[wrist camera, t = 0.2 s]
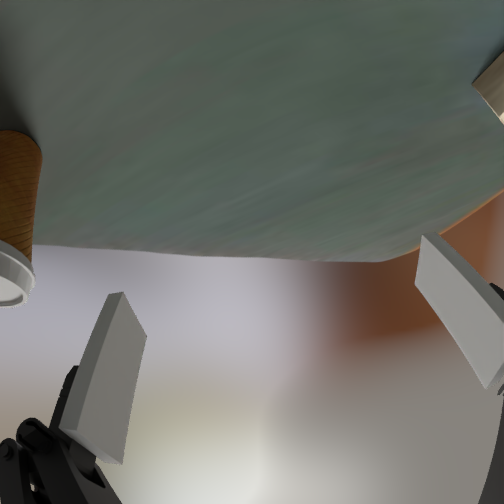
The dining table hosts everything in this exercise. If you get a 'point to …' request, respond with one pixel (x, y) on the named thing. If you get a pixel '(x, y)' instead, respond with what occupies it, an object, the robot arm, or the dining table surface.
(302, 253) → the dining table surface
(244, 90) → the dining table surface
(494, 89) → the dock
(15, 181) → the disposable coffee cup
